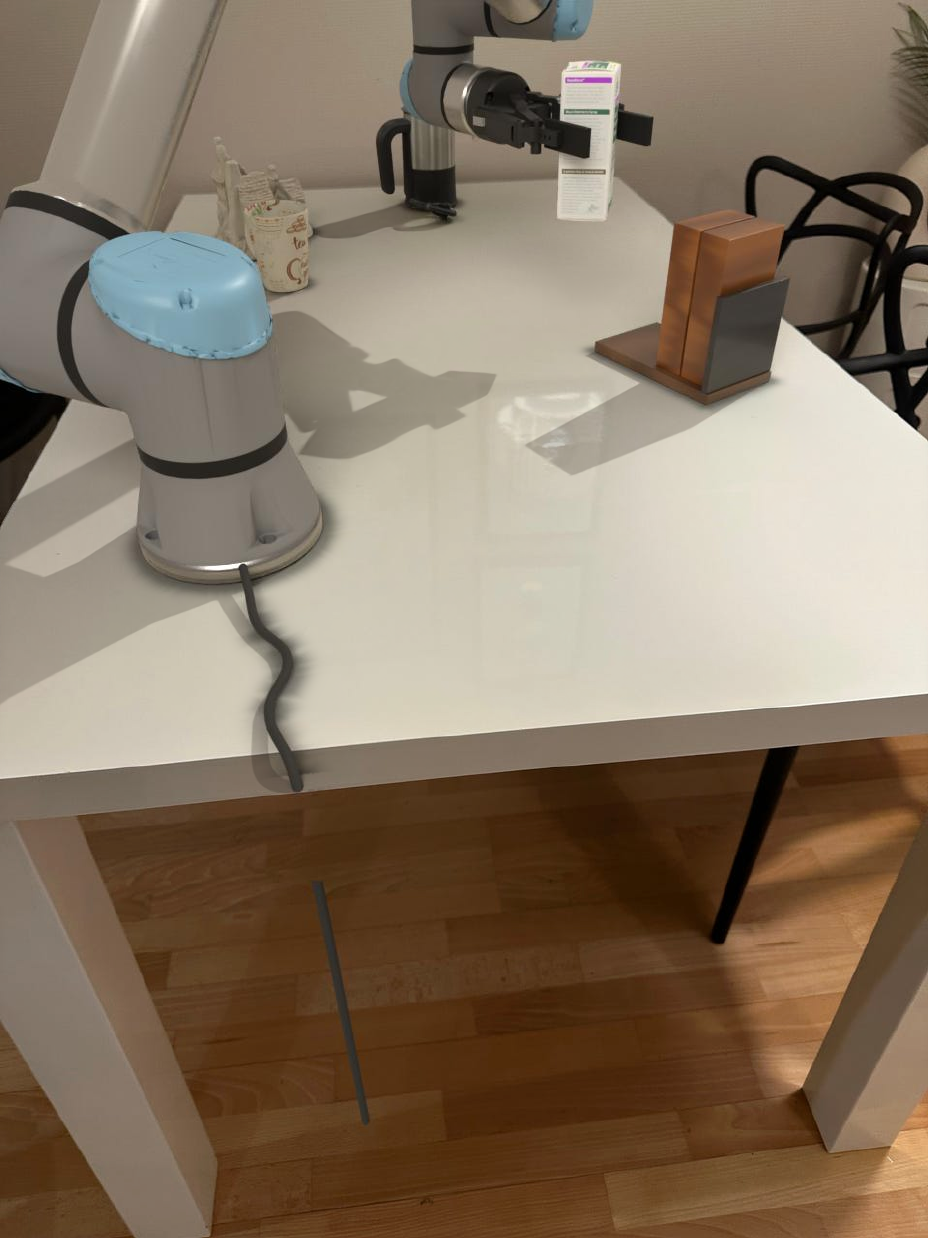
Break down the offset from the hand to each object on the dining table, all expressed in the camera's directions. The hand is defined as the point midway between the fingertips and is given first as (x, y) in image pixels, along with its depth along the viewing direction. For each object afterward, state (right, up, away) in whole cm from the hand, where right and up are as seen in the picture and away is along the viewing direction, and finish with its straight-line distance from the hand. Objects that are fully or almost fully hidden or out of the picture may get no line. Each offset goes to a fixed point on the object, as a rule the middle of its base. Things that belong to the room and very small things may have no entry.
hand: (619, 137), depth 92 cm
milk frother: (-21, +19, +59) cm, 66 cm away
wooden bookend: (+8, -21, +10) cm, 24 cm away
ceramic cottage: (-47, +9, +47) cm, 67 cm away
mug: (-42, -3, +33) cm, 54 cm away
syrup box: (-3, -4, +9) cm, 10 cm away
